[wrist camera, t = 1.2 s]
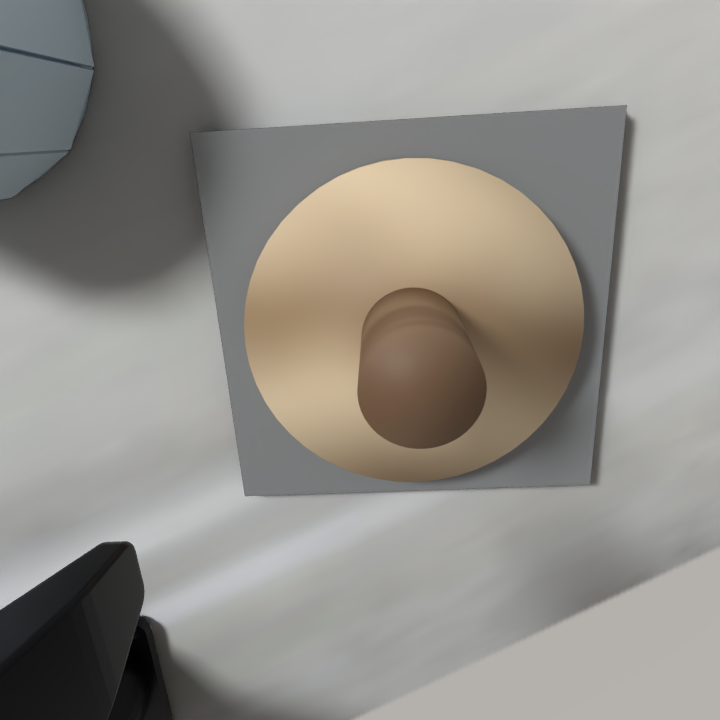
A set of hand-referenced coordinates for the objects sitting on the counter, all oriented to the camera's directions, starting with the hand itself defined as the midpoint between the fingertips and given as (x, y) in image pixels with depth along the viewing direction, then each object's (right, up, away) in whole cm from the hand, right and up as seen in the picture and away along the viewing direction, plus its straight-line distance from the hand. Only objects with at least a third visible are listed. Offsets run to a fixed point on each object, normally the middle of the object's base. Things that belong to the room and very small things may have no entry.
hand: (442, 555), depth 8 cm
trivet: (0, +4, +10) cm, 11 cm away
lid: (0, +4, +10) cm, 11 cm away
